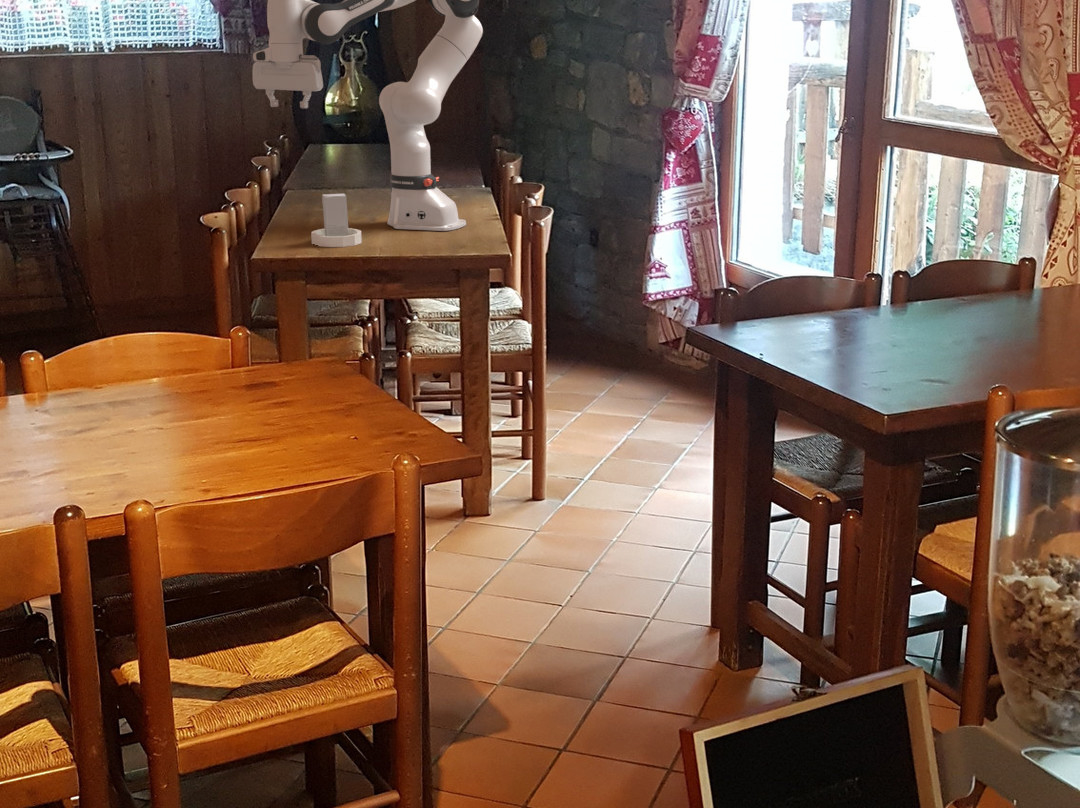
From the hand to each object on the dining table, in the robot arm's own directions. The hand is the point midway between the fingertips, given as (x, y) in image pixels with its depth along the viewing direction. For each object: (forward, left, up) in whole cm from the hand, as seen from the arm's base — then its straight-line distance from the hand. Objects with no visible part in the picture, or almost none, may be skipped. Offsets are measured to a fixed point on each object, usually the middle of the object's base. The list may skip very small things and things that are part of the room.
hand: (289, 107), depth 334 cm
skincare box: (-20, +12, -33) cm, 40 cm away
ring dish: (-20, +12, -33) cm, 40 cm away
